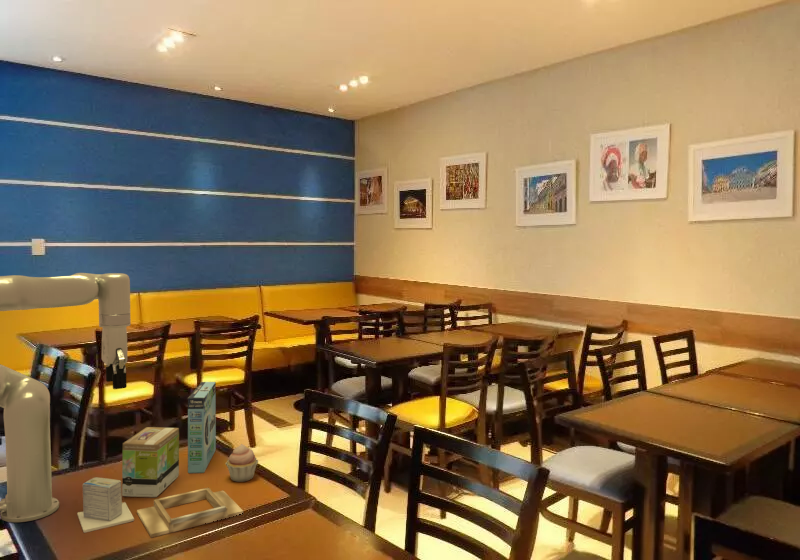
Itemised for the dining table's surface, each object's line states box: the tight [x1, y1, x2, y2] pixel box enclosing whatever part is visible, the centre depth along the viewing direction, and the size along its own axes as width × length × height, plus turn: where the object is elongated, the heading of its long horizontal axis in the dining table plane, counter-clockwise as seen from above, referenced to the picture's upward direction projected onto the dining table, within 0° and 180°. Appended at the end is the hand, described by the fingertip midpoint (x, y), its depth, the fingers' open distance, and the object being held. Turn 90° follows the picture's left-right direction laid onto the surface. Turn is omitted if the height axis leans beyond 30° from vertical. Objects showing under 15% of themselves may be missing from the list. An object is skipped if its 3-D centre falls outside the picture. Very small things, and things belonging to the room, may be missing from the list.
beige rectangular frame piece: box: [136, 487, 244, 539], centre depth 152 cm, size 22×15×3 cm
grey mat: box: [77, 501, 135, 534], centre depth 149 cm, size 11×11×1 cm
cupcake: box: [225, 443, 259, 483], centre depth 175 cm, size 9×9×10 cm
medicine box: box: [82, 476, 123, 521], centre depth 149 cm, size 8×4×9 cm, turn 75°
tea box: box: [121, 426, 180, 498], centre depth 168 cm, size 15×10×15 cm, turn 179°
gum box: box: [187, 381, 217, 474], centre depth 187 cm, size 20×5×23 cm, turn 7°
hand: (116, 384), depth 160 cm, fingers open, 9 cm apart
